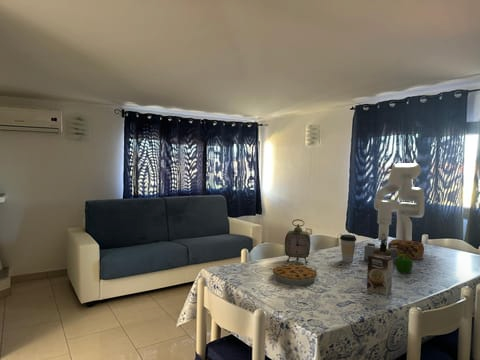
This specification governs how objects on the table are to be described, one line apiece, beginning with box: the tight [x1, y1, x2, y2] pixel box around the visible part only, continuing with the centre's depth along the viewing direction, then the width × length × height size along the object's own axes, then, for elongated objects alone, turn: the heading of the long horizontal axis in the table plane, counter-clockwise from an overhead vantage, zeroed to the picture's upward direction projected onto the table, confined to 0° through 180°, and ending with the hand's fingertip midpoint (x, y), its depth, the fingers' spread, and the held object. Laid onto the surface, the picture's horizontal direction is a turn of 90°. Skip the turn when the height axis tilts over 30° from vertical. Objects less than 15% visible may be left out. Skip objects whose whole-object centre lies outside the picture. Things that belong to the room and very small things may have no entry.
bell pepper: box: [395, 254, 414, 275], centre depth 179 cm, size 8×8×10 cm
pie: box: [272, 263, 318, 286], centre depth 167 cm, size 22×22×5 cm
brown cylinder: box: [374, 246, 399, 258], centre depth 199 cm, size 16×4×4 cm, turn 64°
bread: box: [387, 238, 425, 260], centre depth 213 cm, size 19×11×10 cm, turn 40°
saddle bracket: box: [389, 246, 397, 266], centre depth 197 cm, size 9×3×9 cm, turn 154°
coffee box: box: [366, 254, 394, 296], centre depth 152 cm, size 9×6×16 cm
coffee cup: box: [339, 234, 357, 263], centre depth 199 cm, size 9×9×15 cm
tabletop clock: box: [284, 218, 311, 264], centre depth 196 cm, size 14×9×25 cm, turn 76°
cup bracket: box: [363, 242, 376, 262], centre depth 203 cm, size 9×5×9 cm, turn 154°
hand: (383, 249), depth 199 cm, fingers open, 9 cm apart
